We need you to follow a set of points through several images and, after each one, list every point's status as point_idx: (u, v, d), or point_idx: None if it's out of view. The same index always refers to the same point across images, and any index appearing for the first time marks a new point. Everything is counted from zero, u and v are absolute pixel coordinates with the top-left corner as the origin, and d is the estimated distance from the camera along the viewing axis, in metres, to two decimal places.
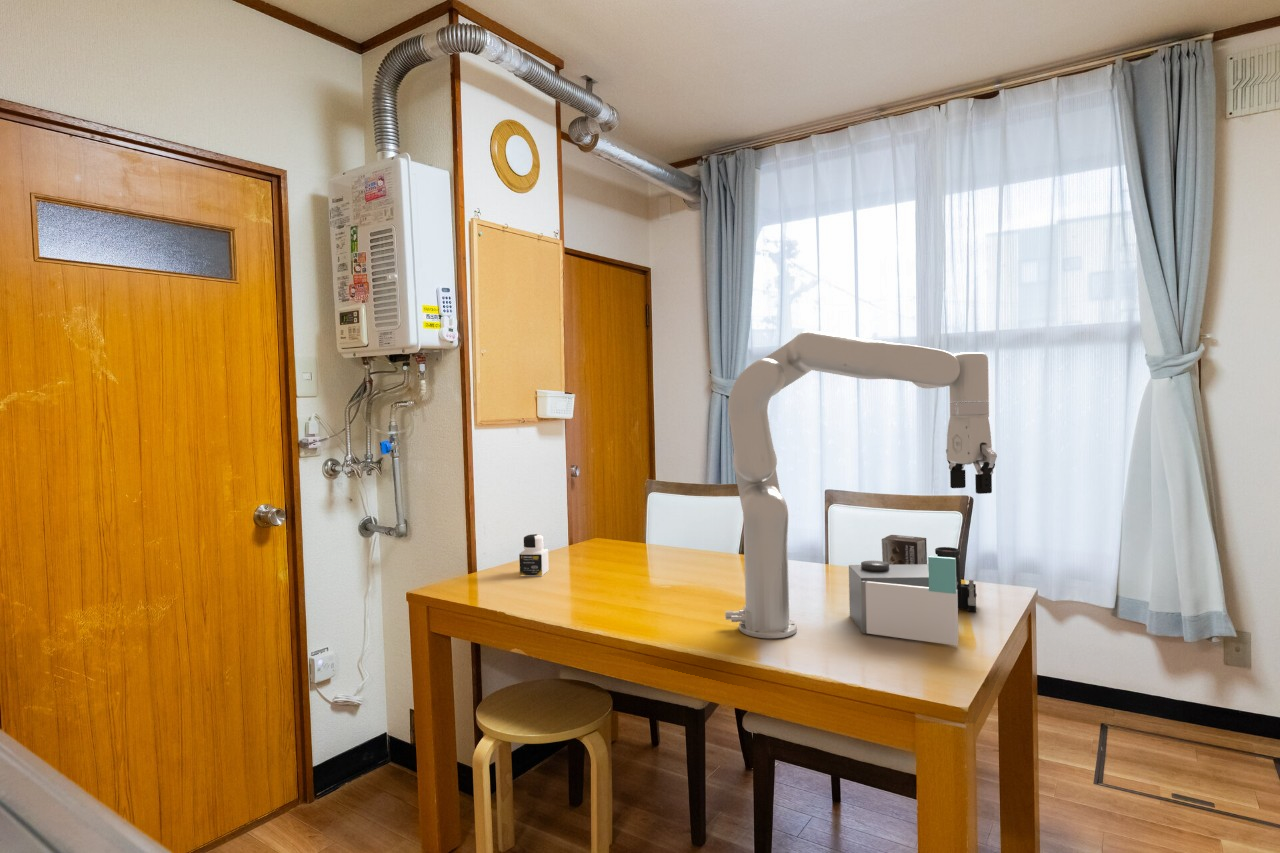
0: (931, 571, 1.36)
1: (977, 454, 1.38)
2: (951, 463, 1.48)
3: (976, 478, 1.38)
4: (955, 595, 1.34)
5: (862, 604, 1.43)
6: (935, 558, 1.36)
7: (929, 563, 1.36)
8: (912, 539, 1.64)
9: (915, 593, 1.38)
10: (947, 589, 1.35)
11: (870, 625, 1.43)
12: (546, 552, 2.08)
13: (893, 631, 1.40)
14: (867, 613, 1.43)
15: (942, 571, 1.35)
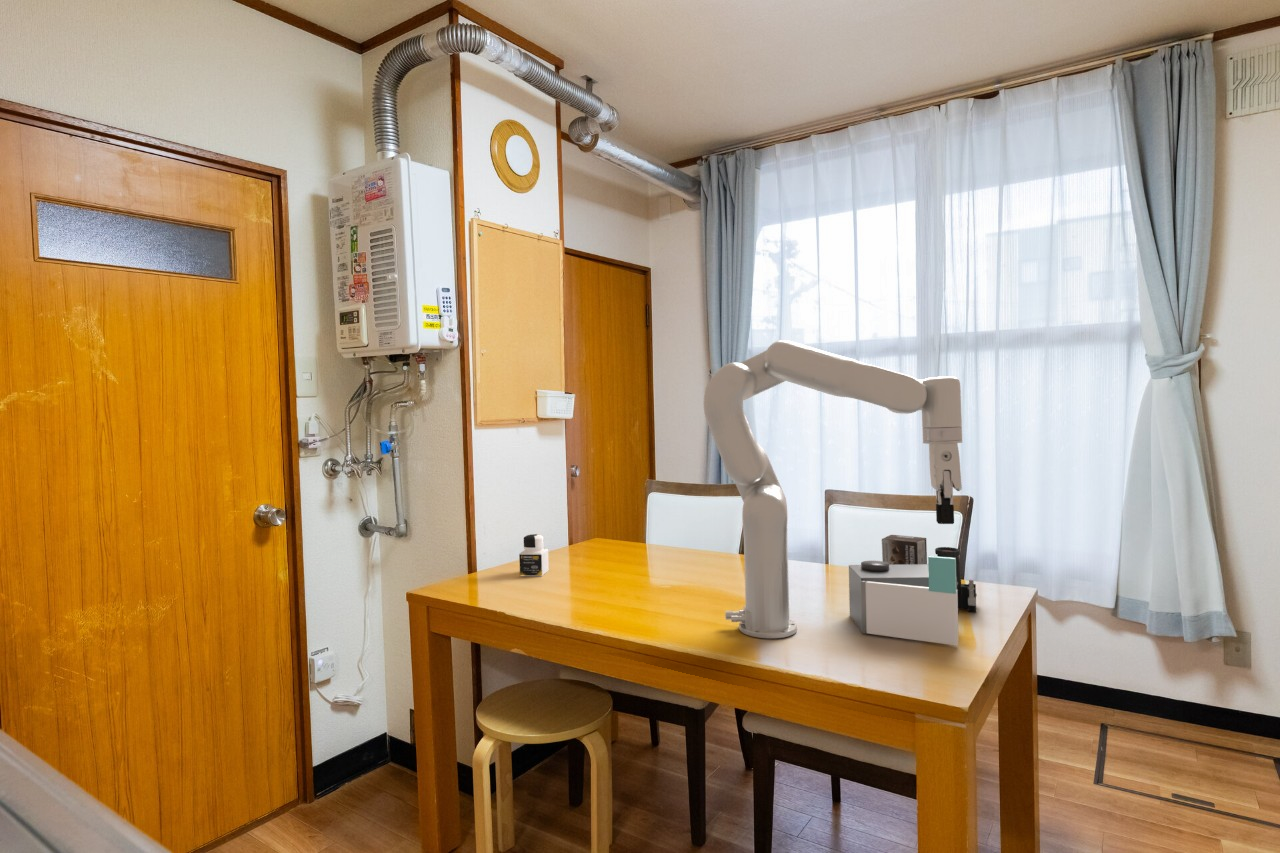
0: (931, 571, 1.36)
1: None
2: (952, 497, 1.38)
3: None
4: (955, 595, 1.34)
5: (862, 604, 1.43)
6: (935, 558, 1.36)
7: (929, 563, 1.36)
8: (912, 539, 1.64)
9: (915, 593, 1.38)
10: (947, 589, 1.35)
11: (870, 625, 1.43)
12: (546, 552, 2.08)
13: (893, 631, 1.40)
14: (867, 613, 1.43)
15: (942, 571, 1.35)
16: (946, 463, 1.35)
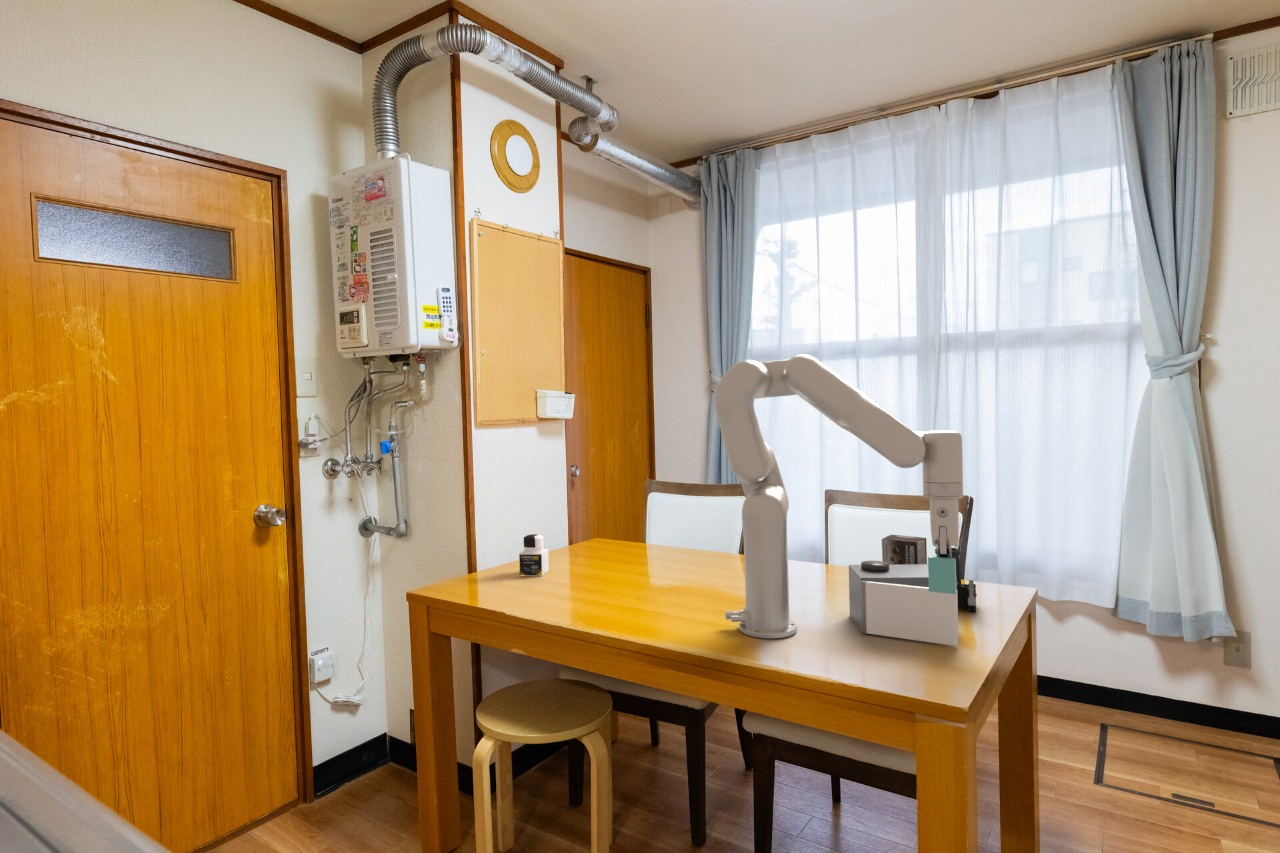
0: (931, 571, 1.36)
1: None
2: None
3: None
4: (955, 595, 1.34)
5: (862, 604, 1.43)
6: (935, 558, 1.36)
7: (929, 563, 1.36)
8: (912, 539, 1.64)
9: (915, 593, 1.38)
10: (947, 589, 1.35)
11: (870, 625, 1.43)
12: (546, 552, 2.08)
13: (893, 631, 1.40)
14: (867, 613, 1.43)
15: (942, 571, 1.35)
16: (942, 519, 1.34)
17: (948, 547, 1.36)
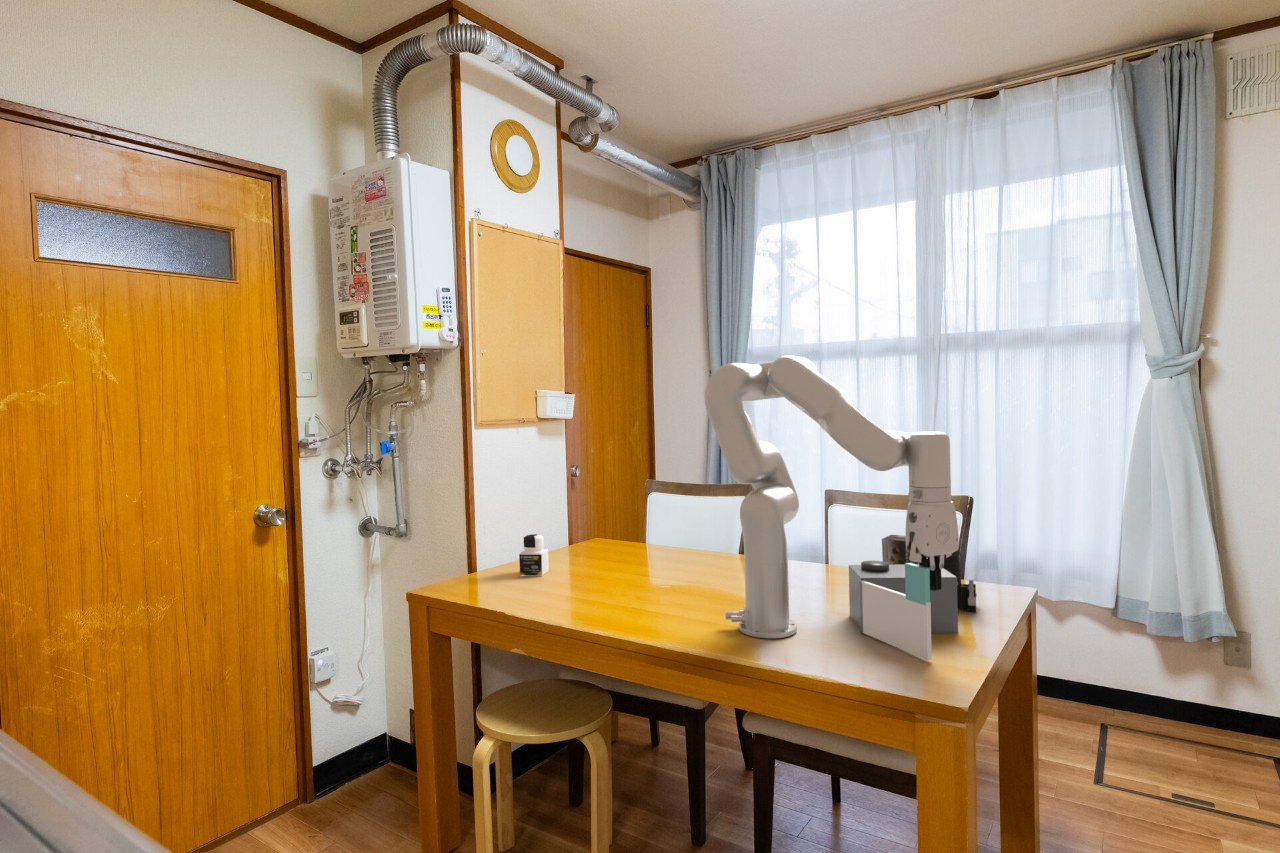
0: (907, 578, 1.31)
1: None
2: (931, 562, 1.29)
3: (940, 574, 1.30)
4: (925, 607, 1.27)
5: (859, 603, 1.44)
6: (910, 565, 1.30)
7: (905, 570, 1.31)
8: None
9: (896, 599, 1.34)
10: (919, 599, 1.28)
11: (865, 625, 1.43)
12: (546, 552, 2.08)
13: (881, 635, 1.38)
14: (863, 613, 1.43)
15: (915, 580, 1.29)
16: (912, 525, 1.28)
17: (927, 555, 1.29)
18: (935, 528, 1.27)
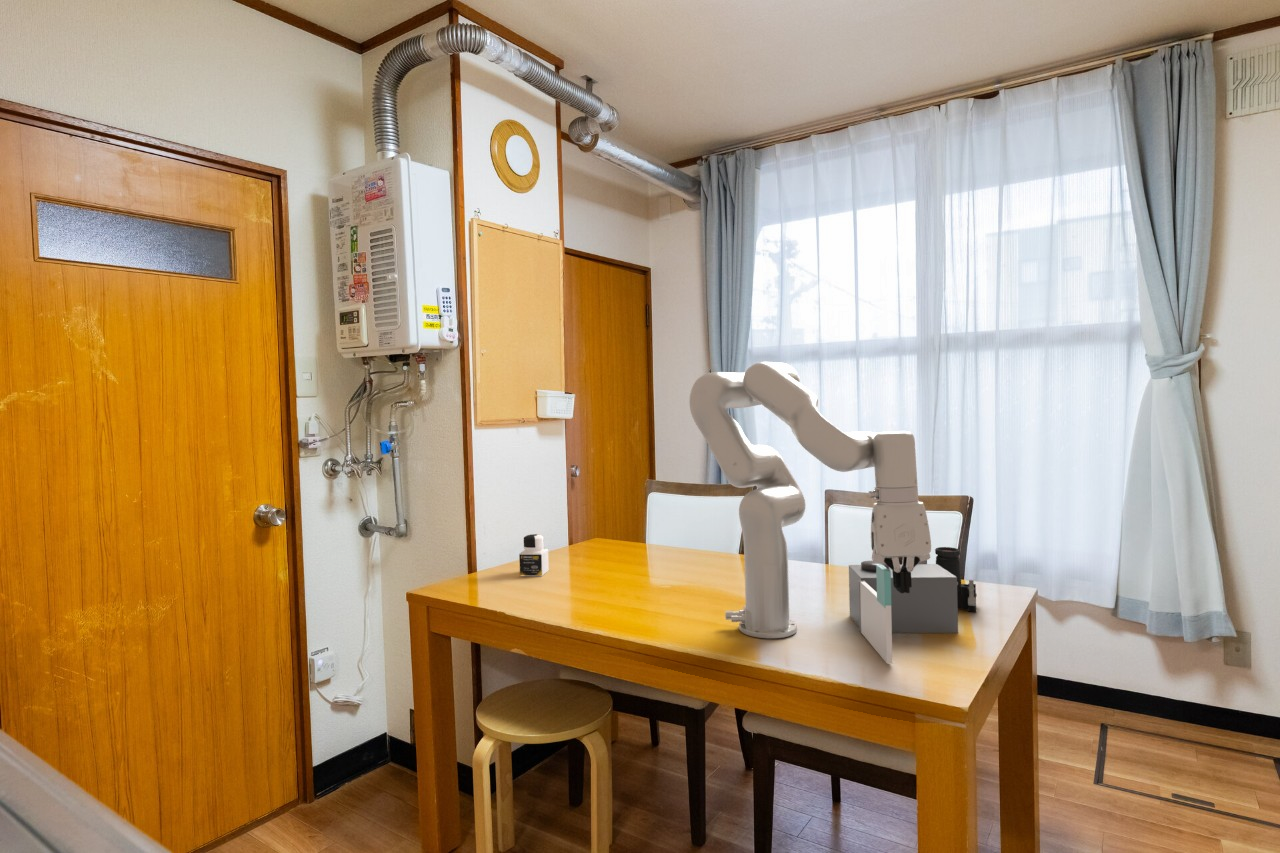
0: (877, 580, 1.31)
1: None
2: (895, 564, 1.27)
3: (907, 576, 1.26)
4: (885, 609, 1.26)
5: (859, 603, 1.44)
6: (878, 567, 1.30)
7: (876, 571, 1.31)
8: None
9: (873, 601, 1.34)
10: (882, 602, 1.28)
11: (862, 625, 1.43)
12: (546, 552, 2.08)
13: (868, 635, 1.38)
14: (861, 612, 1.44)
15: (880, 582, 1.28)
16: (872, 525, 1.28)
17: (891, 556, 1.27)
18: (892, 529, 1.25)
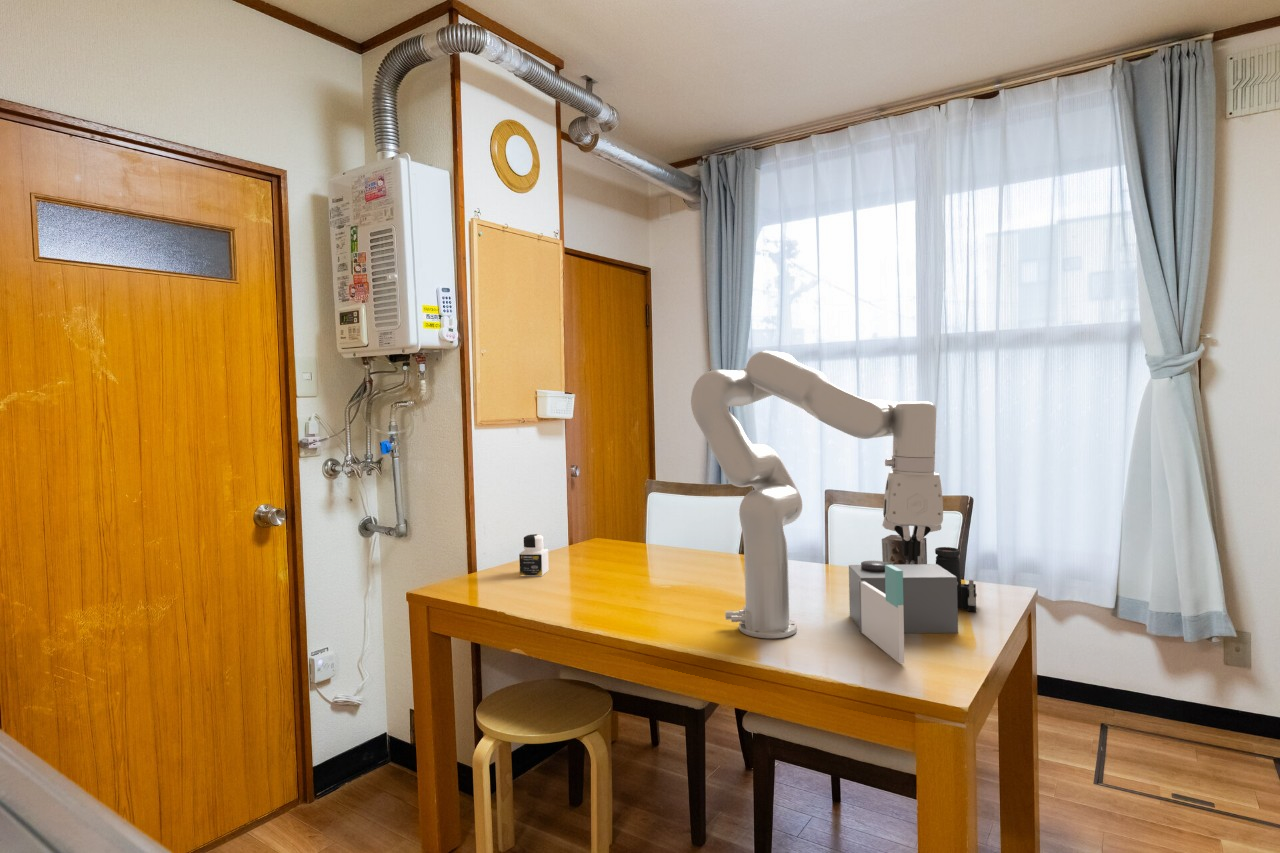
0: (886, 580, 1.30)
1: None
2: (905, 532, 1.28)
3: (916, 545, 1.28)
4: (897, 609, 1.26)
5: (859, 603, 1.44)
6: (888, 567, 1.30)
7: (885, 571, 1.31)
8: None
9: (880, 600, 1.34)
10: (893, 601, 1.28)
11: (863, 625, 1.43)
12: (546, 552, 2.08)
13: (872, 635, 1.38)
14: (861, 613, 1.43)
15: (891, 582, 1.28)
16: (886, 492, 1.29)
17: (901, 525, 1.29)
18: (906, 498, 1.26)
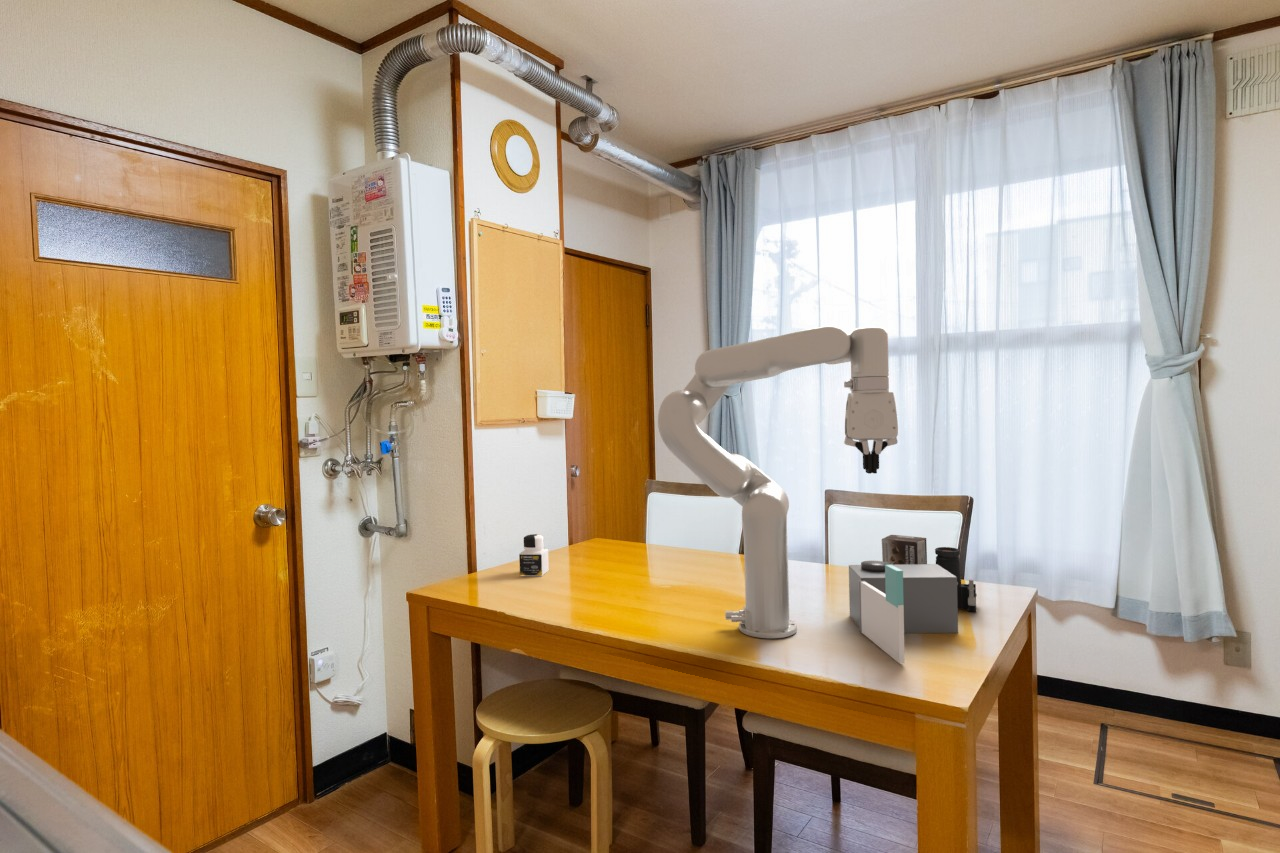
0: (886, 580, 1.30)
1: None
2: (865, 446, 1.40)
3: (875, 458, 1.40)
4: (897, 609, 1.26)
5: (859, 603, 1.44)
6: (888, 567, 1.30)
7: (885, 571, 1.31)
8: (912, 539, 1.64)
9: (880, 600, 1.34)
10: (893, 601, 1.28)
11: (863, 625, 1.43)
12: (546, 552, 2.08)
13: (872, 635, 1.38)
14: (861, 613, 1.43)
15: (891, 582, 1.28)
16: (846, 412, 1.42)
17: (861, 440, 1.41)
18: (863, 414, 1.39)
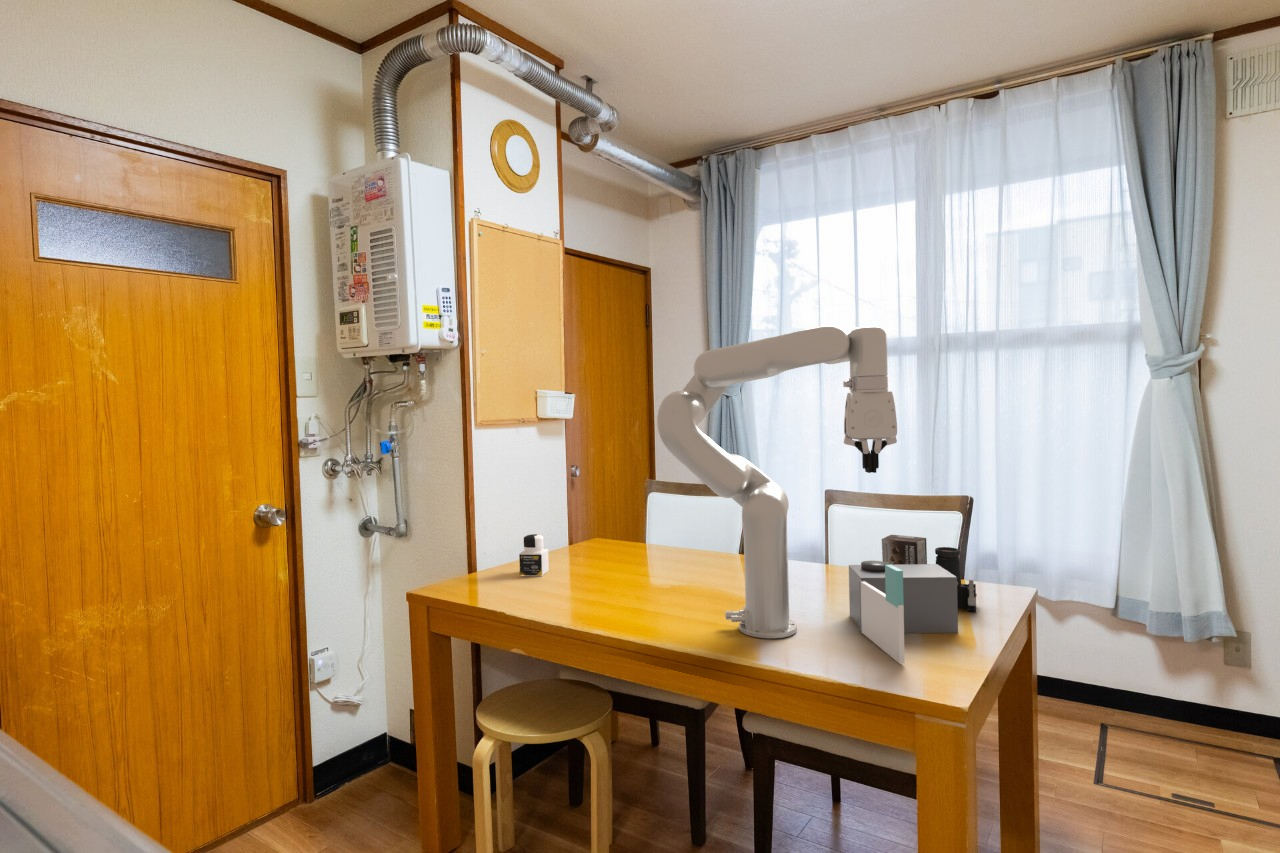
0: (886, 580, 1.30)
1: None
2: (864, 446, 1.41)
3: (875, 457, 1.40)
4: (897, 609, 1.26)
5: (859, 603, 1.44)
6: (888, 567, 1.30)
7: (885, 571, 1.31)
8: (912, 539, 1.64)
9: (880, 600, 1.34)
10: (893, 601, 1.28)
11: (863, 625, 1.43)
12: (546, 552, 2.08)
13: (872, 635, 1.38)
14: (861, 613, 1.43)
15: (891, 582, 1.28)
16: (845, 411, 1.42)
17: (860, 440, 1.41)
18: (862, 413, 1.39)
